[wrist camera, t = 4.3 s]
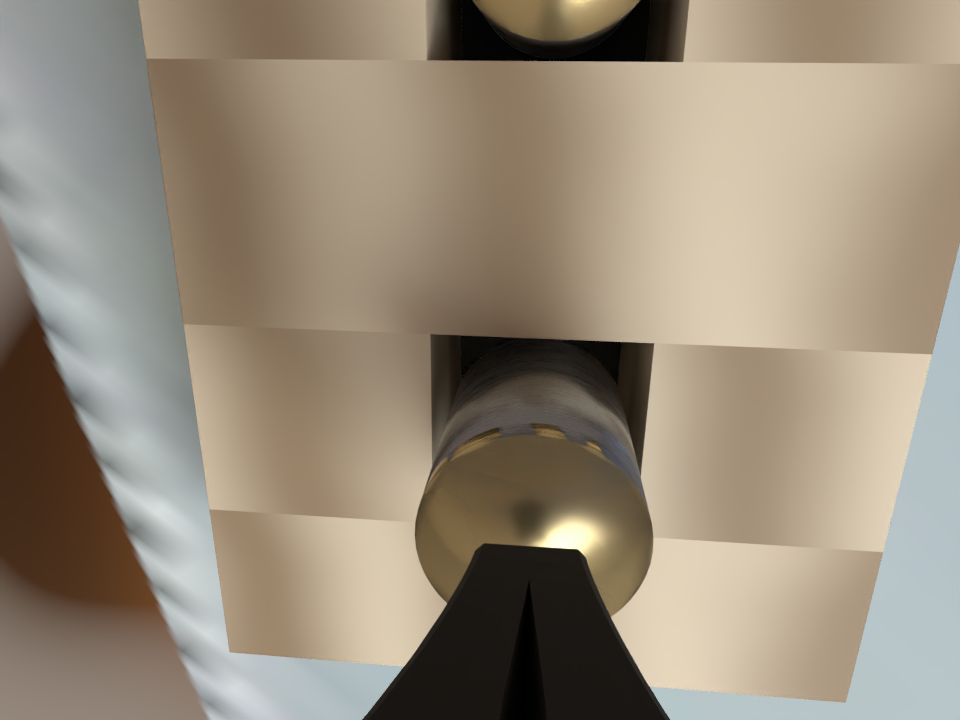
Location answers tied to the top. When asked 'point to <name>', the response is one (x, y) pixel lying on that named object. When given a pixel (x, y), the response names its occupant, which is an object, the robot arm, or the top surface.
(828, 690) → the twin-bore block
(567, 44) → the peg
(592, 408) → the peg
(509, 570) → the robot arm
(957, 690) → the top surface
